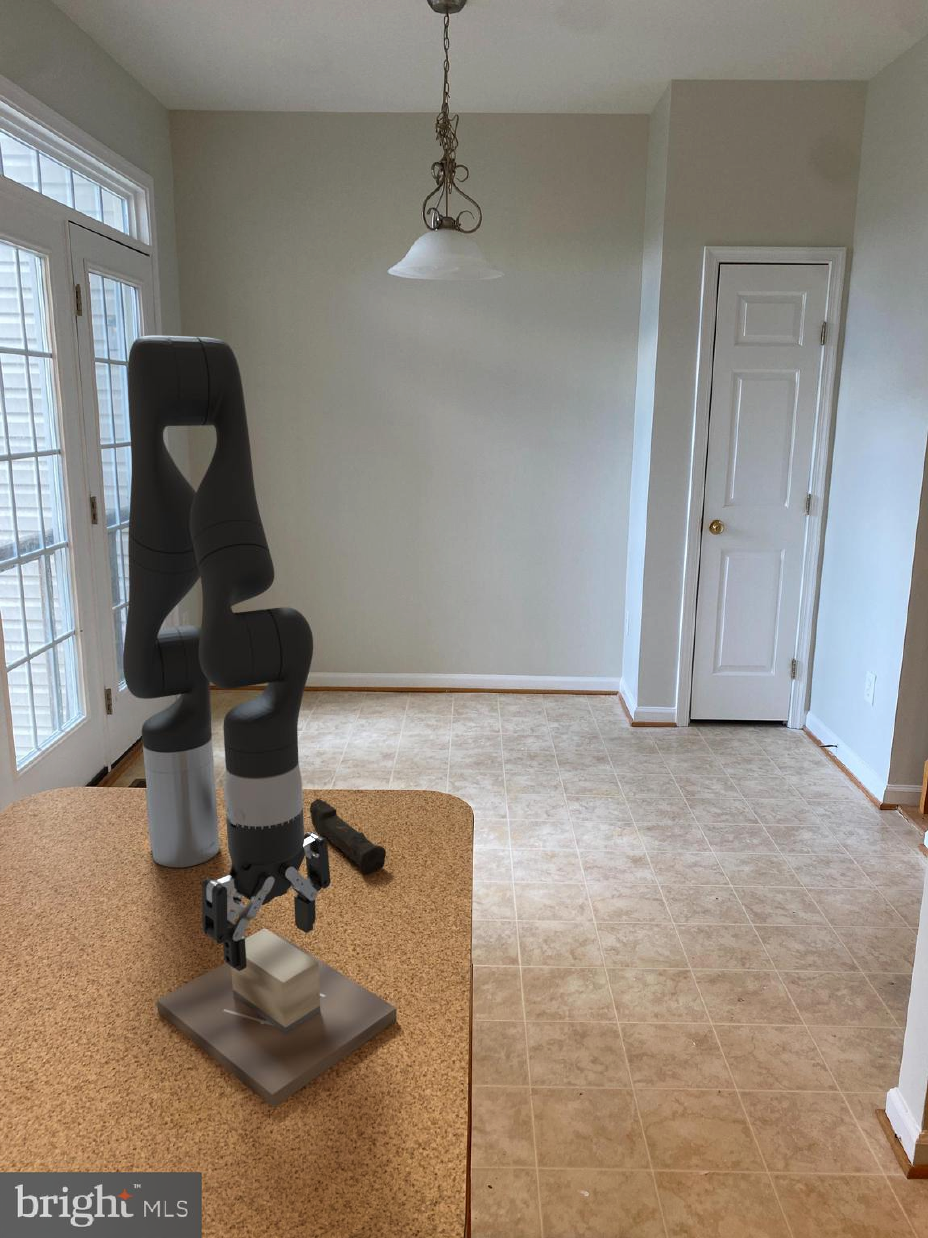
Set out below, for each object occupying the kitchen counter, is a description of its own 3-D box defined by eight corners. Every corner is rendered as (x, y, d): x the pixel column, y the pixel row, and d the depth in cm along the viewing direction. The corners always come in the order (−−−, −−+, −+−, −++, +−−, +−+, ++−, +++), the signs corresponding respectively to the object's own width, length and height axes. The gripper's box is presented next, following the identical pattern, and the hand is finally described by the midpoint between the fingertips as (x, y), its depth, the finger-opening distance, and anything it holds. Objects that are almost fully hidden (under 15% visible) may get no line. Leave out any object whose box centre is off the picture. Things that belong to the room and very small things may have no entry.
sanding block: (233, 996, 96) (229, 946, 95) (267, 976, 99) (264, 928, 98) (285, 1034, 90) (283, 982, 89) (320, 1012, 94) (318, 961, 92)
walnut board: (157, 1012, 96) (156, 1000, 95) (279, 945, 107) (278, 934, 107) (273, 1108, 83) (272, 1094, 83) (396, 1020, 95) (396, 1008, 94)
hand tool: (387, 871, 125) (387, 840, 123) (361, 879, 122) (361, 848, 121) (328, 819, 140) (328, 791, 139) (305, 825, 138) (304, 797, 137)
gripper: (297, 772, 97) (302, 905, 101) (180, 818, 86) (191, 964, 91) (343, 793, 92) (347, 931, 96) (225, 845, 82) (235, 997, 86)
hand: (271, 947), depth 93 cm, fingers open, 8 cm apart
